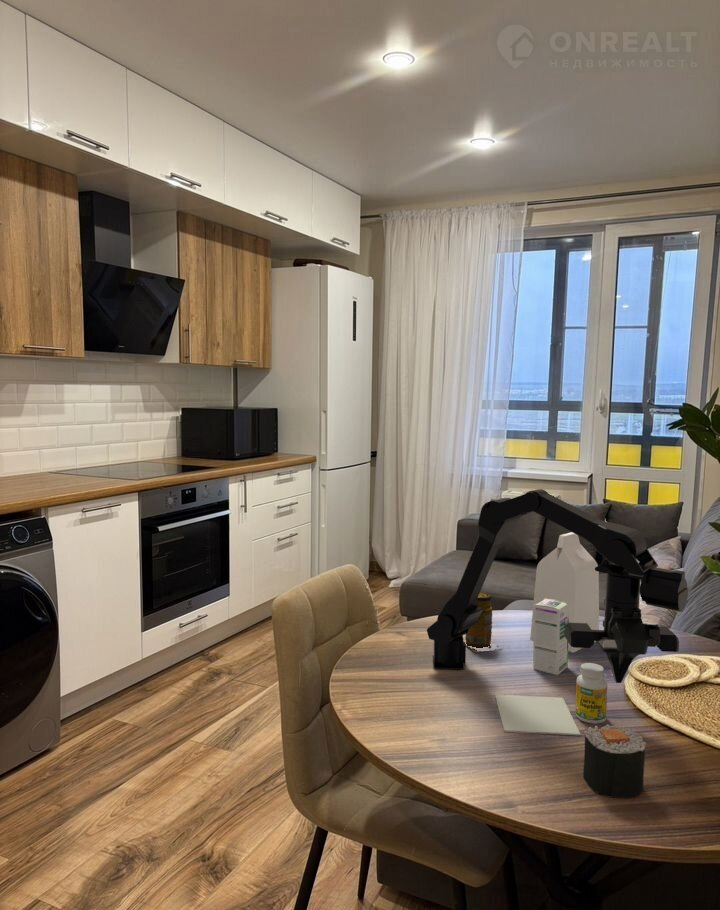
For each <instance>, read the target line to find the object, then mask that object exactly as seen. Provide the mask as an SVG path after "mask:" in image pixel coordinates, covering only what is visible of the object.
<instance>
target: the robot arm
mask: <svg viewBox="0 0 720 910" xmlns="http://www.w3.org/2000/svg"><path fill="white" fill-rule="evenodd" d="M530 513H536V514H538V515H539V516H540V517H543V518H545V519H547V520H548V521H551V522H553V523H555V525H557V526H560V527H561V528H563V529H566V530H568V531H569V532H570V533H571V532H573V533H575V534H577V535H578V537H581V538H582V539H584V540H585V541H587V542H588V543H590V545H592V547H593V548H594V549H595V551H596V552H598V554H600V555H602V557H604V558H605V559H604V560H603V561H602V562H601V563H600V564H599V565H598V566H597V567H595V571H598V572H599V573H605V574H606V578H605V579H606V582H605V598H604V599H603V605H604V619H603V620H602V627H603V629H599V630H592V629H591V628H590V627H589V625H588V624H587V623H568V624H567V625H566V626H565V638H566V639H567V641H568V643H569V644H570V646H571V647H574V648H582V649H591V647H593V646H594V645H595V643H596V645H597V646H598V648H600V650H601V651H602V652H603V653H604V654H605V655H606V657H607V659H608V663H609V667H610V670H611V673H612V674H613V675H612V676H613V679H614V682H615V683H616V684H621V683H623V681H624V678H625V676H626V674H627V671H628V669H629V668H630V665H631V663H632V662H633V661H634V659H635V658H636V657H638V656H640V655H646V654H647V652H648V648H649V647H650V648H651V647H652V648H658V649H659V650H660V651H661V652H666V653H668V652H670V653H677V652H679V651H680V640H679V637H678V636H677V634H675V633H674V632H673V631H672V630H670V629H669V627H668V626H660V625H658V624H653V623H651V624H650V623H649V624H648V623H643V619H642V609H641V608H640V598H641V601H642V602H644V603H645V604H646V605H648V606H651V607H656V608H662V609H665V610H670V611H676V612H680V613H683V612H684V610H685V609H686V605H687V602H688V597H689V588H688V582H687V579H686V573H685V571H684V570H679V569H675V570H673V569H666V568H660V567H658V566H659V565H658V563H657V561H656V560H655V559H654V557H653V555H652V553H651V552H650V551H649V549H648V547H647V542H646V540H645V535H644V534H643V533H642V532H640V531H639V530H638V529H635V528H632V527H629V526H625V525H623V524H619V523H614V522H611V521H606V520H602V519H600V518H597V517H596V516H594V515H591V514H589V513H587V512H586V511H583V510H582V509H580V508H577V507H576V506H573V505H571V504H570V503H568V502H567V501H564V500H562V499H560V498H558V497H556V496H554V495H552V494H550V493H549V492H547V491H546V489H543V488H537V489H534V490H529V491H527V492H526V493H524V494H522V495H518V496H516V497H512V498H510V497H502V498H499V499H494V500H490V501H488V502H485V503H484V504H483V505H482V506H481V509H480V513H479V517H478V521H477V526H478V527H477V529H478V536H477V540H476V542H475V545H474V547H473V550H472V553H471V555H470V557H469V560H468V562H467V564H466V567H465V570H464V571H463V574H462V577H461V579H460V582H459V583H458V586H457V589H456V590H455V593H454V594H453V595H452V596H451V597H450V598H449V599H448V601H446V602H445V604H444V605H443V607H442V608H441V609H440V611H439V613H438V615H437V618H436V621H434V622H433V623H432V624H431V625H430V626H429V627H428V628H426V633H427V635H428V637H427V638H428V639H429V640H432V641H433V655H432V666H433V669H441V670H442V669H443V670H461V671H462V670H464V667H465V666H464V665H465V664H466V663H467V662H466V659H467V656H466V655H467V652H466V651H467V649H466V648H467V647H466V644H465V642H464V641H463V639H464V636H466V634H468V631H469V629H470V628H471V627H472V626H474V625H476V624H478V619H479V616H480V614H481V613H482V611H483V609H482V608H480V607H478V602H477V599H478V596H479V593H480V592H481V591H482V588H483V586H484V584H485V581H486V579H487V576H488V574H489V572H490V570H491V568H492V565H493V562H494V560H495V558H496V555H497V553H498V552H499V549H500V546H501V544H502V542H503V541H504V540H505V539H506V538H507V537H508V536H509V535H510V533H512V532H513V530H514V528H515V527H516V525H517V524H518V522H519V521H520V519H521V517H524V516H525V515H529V514H530ZM594 641H596V642H594Z"/></svg>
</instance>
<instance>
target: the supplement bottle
mask: <svg viewBox="0 0 720 910" xmlns="http://www.w3.org/2000/svg"><path fill="white" fill-rule="evenodd" d="M579 672H580V675H578V676H577V678H576V681H575V683H576V685H575V686H576V687H575V689H576V690H575V691H576V692H575V716H576V717H577V718H578V719H579V720H580V721H581V722H584V723H587V724H592V725H596V724H602V723H605V721H606V719H607V708H608V707H607V704H608V701H607V700H608V682H607V680H606V679H605V678H604V676H605V674H604V672H605V669H604V667H603V666H602V665H600V664H597V663H593V662H585V663H582V664H581V665H580V671H579Z"/></svg>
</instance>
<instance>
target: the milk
mask: <svg viewBox="0 0 720 910" xmlns="http://www.w3.org/2000/svg"><path fill="white" fill-rule="evenodd" d="M579 537H580V536H578V535H577V534H575V533H573V532H571V531H570V532H568V533H563V534H560V535H559V537H558V540H557V545H556V548H554V549H553V550H552V551H551V552H549V553H547V554H546V556H544V557H543V558H541V560H540V561H539V562H538V564H537V566H536V573H535V582H534V593H533V606H532V615H531V627H530V636H529V639H530V640H532V639H533V640H532V641H534V605H536V604H537V603H539V602H541V601H543V600H544V599H553V600H559V601H563V602H566V603H569V623H587V624H588V625H589V627H590V628H591V629H592V630H600V608H599V607H600V602H599V601H600V599H599V598H600V587H599V586H600V584H599V583H600V581H599V580H600V574H599V573H600V572H598V571H595V567H597V566H599V565H598V562H597V560H595V558H594V557H593V556H592V555H591V554H590V553H589V552H588V551H587V549H586V548H584V546H583V545H582V544H581V542H580V538H579ZM594 643H596V641H594ZM582 649H583V648H574V647H571V646H570V644H569V643H568V652H569V653H576V652H578V651H579V650H582Z"/></svg>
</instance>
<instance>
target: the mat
mask: <svg viewBox="0 0 720 910" xmlns="http://www.w3.org/2000/svg"><path fill="white" fill-rule="evenodd" d="M494 697H495V701H496V704H497V709H498V712H499V717H500V721H501V724H502V727H503V732H504V733H519V734H537V735H538V734H540V735H543V734H544V735H559V736H560V735H561V736H581V732H580V731H579V728H578V725H576V722H575V720H574V718H573V716H572V713H571V712H570V709H569V707H568V706H567V704H566V702H565V699H564V697H557V696H556V697H554V696H553V697H551V696H532V695H531V696H530V695H512V694H511V695H508V694H494Z"/></svg>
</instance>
